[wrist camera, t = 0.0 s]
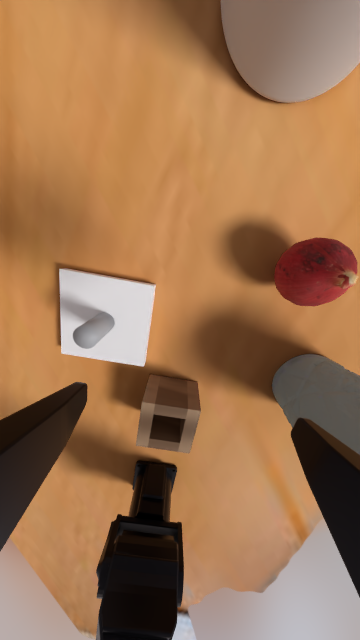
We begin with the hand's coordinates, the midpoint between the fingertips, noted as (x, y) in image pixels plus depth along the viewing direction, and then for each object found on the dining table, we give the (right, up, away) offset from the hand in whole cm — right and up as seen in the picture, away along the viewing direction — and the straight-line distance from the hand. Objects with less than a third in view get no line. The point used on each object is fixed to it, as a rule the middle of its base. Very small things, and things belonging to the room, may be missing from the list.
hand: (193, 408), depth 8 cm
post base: (-9, +4, +14) cm, 17 cm away
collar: (-2, -7, +18) cm, 19 cm away
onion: (+11, +9, +12) cm, 19 cm away
